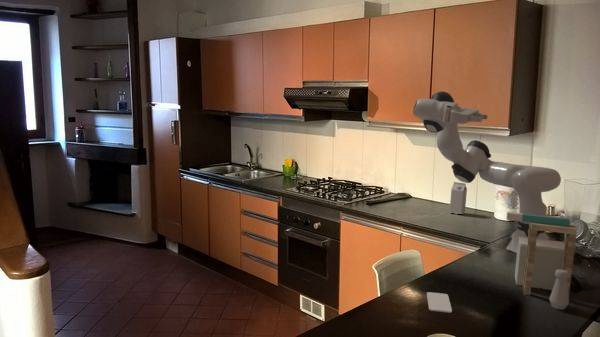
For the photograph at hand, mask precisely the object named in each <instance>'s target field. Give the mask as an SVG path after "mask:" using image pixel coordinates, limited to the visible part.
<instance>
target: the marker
mask: <svg viewBox="0 0 600 337" xmlns="http://www.w3.org/2000/svg"><path fill="white" fill-rule="evenodd" d="M506 220H507V221H515V222H518V221H523V222H532V223H541V224H550V225H559V226H569V225H570V224H571V219H570V217H560V216H552V215H551V216H549V215H546V216H542V215H533V214H523V213H519V212H512V211H506Z"/></svg>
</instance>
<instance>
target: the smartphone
mask: <svg viewBox="0 0 600 337" xmlns="http://www.w3.org/2000/svg"><path fill="white" fill-rule="evenodd" d="M426 296H427V304H428V310H429V311H431V312H438V313H447V314H448V313H449V314H451V313H452V312H453V309H452V305H451V302H450V298H449V295H448V294H447V293H440V292H433V291H432V292H426Z"/></svg>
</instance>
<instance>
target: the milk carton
mask: <svg viewBox="0 0 600 337" xmlns="http://www.w3.org/2000/svg"><path fill="white" fill-rule="evenodd" d="M466 185H467V183H465V182H456V181H453V184H452V187H451V189H450V199H449V202H450V203H449V212H452V213H458V214H462V213H464V212H465V213H466V207H467V205H466V203H467V192H468V188H467V186H466Z"/></svg>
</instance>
